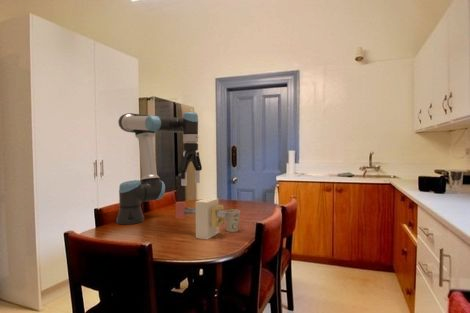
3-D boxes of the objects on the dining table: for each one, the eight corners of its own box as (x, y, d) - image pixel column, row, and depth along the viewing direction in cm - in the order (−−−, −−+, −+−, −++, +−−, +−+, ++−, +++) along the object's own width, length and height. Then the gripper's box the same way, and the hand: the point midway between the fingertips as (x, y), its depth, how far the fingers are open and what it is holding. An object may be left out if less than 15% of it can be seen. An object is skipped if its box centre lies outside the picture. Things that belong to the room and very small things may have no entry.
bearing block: (195, 238, 137) (195, 201, 137) (208, 231, 148) (207, 197, 148) (207, 239, 135) (207, 202, 134) (218, 232, 146) (218, 198, 145)
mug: (228, 233, 144) (228, 213, 144) (218, 227, 155) (218, 208, 155) (243, 231, 148) (243, 211, 148) (232, 225, 159) (232, 207, 159)
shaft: (175, 218, 147) (175, 202, 147) (178, 217, 149) (178, 201, 149) (224, 223, 136) (224, 206, 136) (226, 221, 139) (226, 205, 139)
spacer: (211, 227, 135) (211, 208, 135) (220, 223, 144) (219, 204, 143) (215, 228, 135) (215, 208, 134) (223, 223, 143) (223, 205, 143)
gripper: (184, 142, 138) (184, 187, 138) (207, 143, 161) (208, 181, 162) (170, 142, 140) (171, 186, 141) (195, 143, 164) (195, 181, 164)
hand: (190, 184), depth 151 cm, fingers open, 13 cm apart
